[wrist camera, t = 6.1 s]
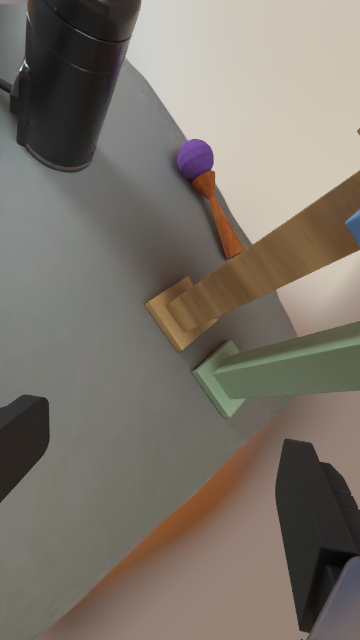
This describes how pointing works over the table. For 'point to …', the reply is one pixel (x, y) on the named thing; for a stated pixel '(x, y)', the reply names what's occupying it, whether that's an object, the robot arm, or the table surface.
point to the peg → (354, 226)
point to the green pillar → (283, 368)
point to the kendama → (208, 189)
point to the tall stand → (262, 266)
